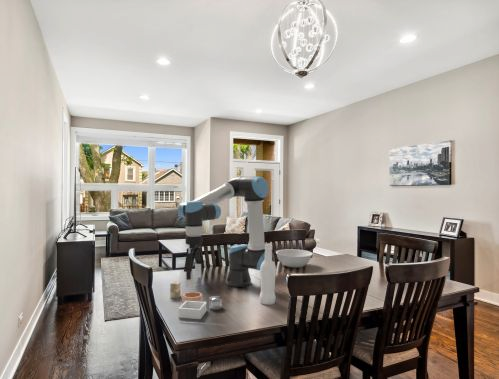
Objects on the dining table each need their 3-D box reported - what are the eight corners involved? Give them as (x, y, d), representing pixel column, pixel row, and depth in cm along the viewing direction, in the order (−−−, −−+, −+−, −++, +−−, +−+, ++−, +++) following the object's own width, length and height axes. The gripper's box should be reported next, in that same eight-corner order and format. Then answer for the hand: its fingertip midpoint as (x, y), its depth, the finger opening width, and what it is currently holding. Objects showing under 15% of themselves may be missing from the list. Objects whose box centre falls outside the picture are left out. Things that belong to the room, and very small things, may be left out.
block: (180, 297, 177) (180, 281, 177) (177, 299, 173) (177, 284, 173) (173, 296, 178) (173, 281, 178) (170, 299, 174) (170, 283, 174)
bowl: (272, 262, 262) (272, 249, 262) (306, 261, 265) (306, 249, 265) (279, 271, 235) (279, 256, 234) (317, 270, 238) (317, 256, 237)
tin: (223, 306, 164) (223, 296, 164) (220, 311, 158) (220, 300, 158) (210, 306, 165) (210, 295, 165) (207, 310, 159) (207, 299, 159)
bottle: (258, 299, 175) (259, 242, 174) (274, 299, 175) (275, 242, 175) (260, 305, 167) (261, 245, 166) (276, 305, 167) (277, 245, 167)
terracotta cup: (203, 303, 169) (203, 292, 169) (198, 309, 160) (198, 298, 160) (186, 302, 170) (186, 291, 170) (180, 308, 161) (180, 297, 161)
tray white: (206, 312, 157) (206, 301, 157) (200, 321, 147) (200, 309, 147) (185, 311, 158) (185, 300, 158) (178, 319, 148) (178, 308, 148)
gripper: (194, 230, 165) (194, 273, 165) (176, 239, 140) (176, 290, 141) (209, 231, 164) (208, 274, 164) (193, 240, 139) (193, 291, 140)
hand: (193, 281), depth 153 cm, fingers open, 13 cm apart
